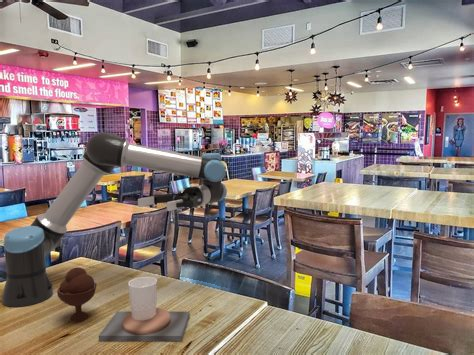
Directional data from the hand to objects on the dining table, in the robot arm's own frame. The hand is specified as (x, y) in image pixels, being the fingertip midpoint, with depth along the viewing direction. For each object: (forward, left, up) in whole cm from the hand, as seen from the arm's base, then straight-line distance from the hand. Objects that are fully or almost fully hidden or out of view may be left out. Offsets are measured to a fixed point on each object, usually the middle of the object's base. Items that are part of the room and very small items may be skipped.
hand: (152, 204), depth 121 cm
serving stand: (+12, -15, -32) cm, 37 cm away
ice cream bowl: (-10, -22, -32) cm, 40 cm away
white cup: (+10, -14, -29) cm, 34 cm away
